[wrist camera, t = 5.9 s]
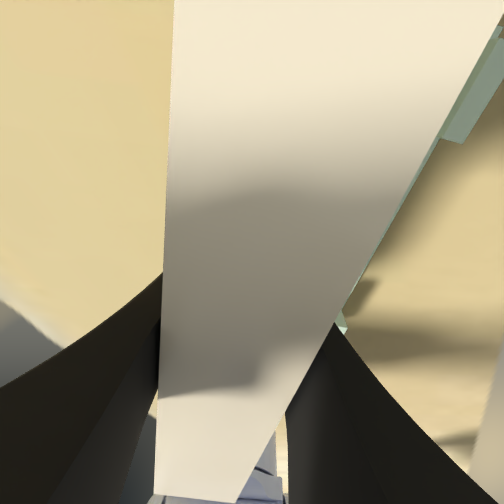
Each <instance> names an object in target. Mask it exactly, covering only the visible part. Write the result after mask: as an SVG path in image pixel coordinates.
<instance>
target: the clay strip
mask: <svg viewBox="0 0 504 504" xmlns="http://www.w3.org/2000/svg"><path fill="white" fill-rule="evenodd" d="M503 13H504V0H174V23H173V47H172V71H171V95H170V118H169V142H168V166H167V190H166V214H165V238H164V262H163V285H162V309H161V333H160V357H159V381H158V405H157V430H156V452H155V478H154V494H158V495H167V496H175V497H184V498H193V499H201V500H210V501H219V502H227V503H235V502H236V500H237V498H238V497H239V495H240V493H241V491H242V489H243V488H244V486H245V484H246V482H247V480H248V478H249V477H250V475H251V473H252V471H253V469H254V467H255V466H256V464H257V462H258V460H259V458H260V457H261V455H262V453H263V451H264V449H265V447H266V446H267V444H268V442H269V440H270V438H271V436H272V435H273V433H274V431H275V429H276V427H277V426H278V424H279V422H280V420H281V418H282V416H283V415H284V413H285V411H286V409H287V407H288V405H289V404H290V402H291V400H292V398H293V396H294V395H295V393H296V391H297V389H298V387H299V385H300V384H301V382H302V380H303V378H304V376H305V374H306V373H307V371H308V369H309V367H310V365H311V364H312V362H313V360H314V358H315V356H316V354H317V353H318V351H319V349H320V347H321V345H322V343H323V342H324V340H325V338H326V336H327V334H328V333H329V331H330V329H331V327H332V325H333V323H334V322H335V320H336V318H337V316H338V314H339V312H340V311H341V309H342V307H343V305H344V303H345V302H346V300H347V298H348V296H349V294H350V292H351V291H352V289H353V287H354V285H355V283H356V281H357V280H358V278H359V276H360V274H361V272H362V271H363V269H364V267H365V265H366V263H367V261H368V260H369V258H370V256H371V254H372V252H373V250H374V249H375V247H376V245H377V243H378V241H379V240H380V238H381V236H382V234H383V232H384V230H385V229H386V227H387V225H388V223H389V221H390V219H391V218H392V216H393V214H394V212H395V210H396V209H397V207H398V205H399V203H400V201H401V199H402V198H403V196H404V194H405V192H406V190H407V188H408V187H409V185H410V183H411V181H412V179H413V178H414V176H415V174H416V172H417V170H418V168H419V167H420V165H421V163H422V161H423V159H424V157H425V156H426V154H427V152H428V150H429V148H430V147H431V145H432V143H433V141H434V139H435V137H436V136H437V134H438V132H439V130H440V128H441V126H442V125H443V123H444V121H445V119H446V117H447V116H448V114H449V112H450V110H451V108H452V106H453V105H454V103H455V101H456V99H457V97H458V95H459V94H460V92H461V90H462V88H463V86H464V85H465V83H466V81H467V79H468V77H469V75H470V74H471V72H472V70H473V68H474V66H475V64H476V63H477V61H478V59H479V57H480V55H481V54H482V52H483V50H484V48H485V46H486V44H487V43H488V41H489V39H490V37H491V35H492V33H493V32H494V30H495V28H496V26H497V24H498V23H499V21H500V19H501V17H502V15H503Z"/></svg>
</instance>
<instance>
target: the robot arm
mask: <svg viewBox="0 0 504 504" xmlns="http://www.w3.org/2000/svg"><path fill="white" fill-rule="evenodd" d="M162 285H163V272H162V273H161V274H160V275H159V276H158V277H157V278H156V279H155V280H154V281H153V282H152V283H151V284H149V285H148V286H147V287H146V288H145V289H144V290H143V291H142V292H140V293H139V294H138V295H137V296H136V297H134V298H133V299H132V300H131V301H130V302H128V303H127V304H126V305H125V306H123V307H122V308H121V309H120V310H118V311H117V312H116V313H114V314H113V315H112V316H110V317H109V318H108V319H106V320H105V321H104V322H102V323H101V324H100V325H98V326H97V327H96V328H94V329H93V330H92V331H90V332H89V333H87V334H86V335H84V336H83V337H82V338H80V339H79V340H77V341H76V342H74V343H73V344H71V345H70V346H68V347H67V348H65V349H63V350H62V351H61V352H59V353H57V354H56V355H54V356H53V357H51V358H49V359H48V360H46V361H44V362H43V363H42V364H39V365H38V366H36V367H35V368H33V369H31V370H29V371H28V372H26V373H25V374H23V375H21V376H19V377H18V378H16V379H14V380H13V381H11V382H10V383H7V384H6V385H4V386H2V387H1V388H0V504H118V503H119V499H120V497H121V494H122V490H123V487H124V484H125V481H126V477H127V474H128V471H129V467H130V465H131V461H132V459H133V455H134V452H135V449H136V446H137V443H138V440H139V437H140V434H141V431H142V427H143V425H144V422H145V419H146V417H147V414H148V411H149V409H150V406H151V404H152V402H153V399H154V397H155V394H156V392H157V389H158V381H159V357H160V333H161V309H162ZM285 418H286V428H287V442H288V494H286V493H283V490H282V478H281V477H277V465H276V437H275V431H274V433H273V435H272V436H271V438H270V440H269V442H268V444H267V446H266V447H265V449H264V451H263V453H262V455H261V457H260V458H259V460H258V462H257V464H256V466H255V467H254V469H253V471H252V473H251V475H250V477H249V478H248V480H247V482H246V484H245V486H244V488H243V489H242V491H241V493H240V495H239V497H238V498H237V500H236V502H235V503H227V502H219V501H210V500H201V499H193V498H184V497H175V496H167V495H158V494H154V495H153V496H152V497H151V499H150V500H149V502H148V504H498V503H497V502H496V501H495V500H494V499H493V498H492V497H491V496H489V495H488V494H487V493H486V492H485V491H484V490H483V489H482V488H481V487H480V486H479V485H478V484H477V483H475V482H474V481H473V480H472V479H471V478H470V477H469V476H468V475H467V474H466V473H465V472H464V471H463V470H462V469H461V468H460V467H459V466H458V465H457V464H456V463H455V462H454V461H453V460H452V459H451V458H450V457H449V456H448V455H447V454H446V453H445V452H444V451H443V450H442V449H441V448H440V447H439V446H438V445H437V444H436V443H435V442H434V441H433V440H432V439H431V438H430V437H429V436H428V435H427V434H426V433H425V432H424V431H423V430H422V429H421V428H420V427H419V426H418V425H417V424H416V423H415V422H414V420H413V419H412V418H411V417H410V416H409V415H408V414H407V413H406V412H405V410H404V409H403V408H402V407H401V406H400V405H399V404H398V403H397V402H396V400H395V399H394V398H393V397H392V396H391V395H390V394H389V393H388V391H387V390H386V389H385V388H384V387H383V385H382V384H381V383H380V382H379V381H378V379H377V378H376V377H375V376H374V374H373V373H372V372H371V371H370V369H369V368H368V367H367V366H366V364H365V363H364V362H363V361H362V359H361V358H360V357H359V355H358V354H357V353H356V351H355V350H354V349H353V347H352V346H351V344H350V343H349V342H348V340H347V339H346V338H345V336H344V335H343V333H342V332H341V330H340V329H339V328H338V326H337V325H336V323H335V322H334V323H333V325H332V327H331V329H330V331H329V333H328V334H327V336H326V338H325V340H324V342H323V343H322V345H321V347H320V349H319V351H318V353H317V354H316V356H315V358H314V360H313V362H312V364H311V365H310V367H309V369H308V371H307V373H306V374H305V376H304V378H303V380H302V382H301V384H300V385H299V387H298V389H297V391H296V393H295V395H294V396H293V398H292V400H291V402H290V404H289V405H288V407H287V409H286V411H285Z"/></svg>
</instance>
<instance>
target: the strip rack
mask: <svg viewBox="0 0 504 504" xmlns="http://www.w3.org/2000/svg"><path fill="white" fill-rule="evenodd" d="M503 28H504V27H502V26H499V25H497V26H496V28H495V30H494V32H493V33H492V35H491V37H490V39H489V41H488V43H487V44H486V46H485V48H484V50H483V52H482V54H481V55H480V57H479V59H478V61H477V63H476V64H475V66H474V68H473V70H472V72H471V74H470V75H469V77H468V79H467V81H466V83H465V85H464V86H463V88H462V90H461V92H460V94H459V95H458V97H457V99H456V101H455V103H454V105H453V106H452V108H451V110H450V112H449V114H448V116H447V117H446V119H445V121H444V123H443V125H442V126H441V128H440V130H439V132H438V134H437V136H436V137H435V139H434V141H433V143H432V145H431V147H430V148H429V150H428V152H427V154H426V156H425V157H424V159H423V161H422V163H421V165H420V167H419V168H418V170H417V172H416V174H415V176H414V178H413V179H412V181H411V183H410V185H409V187H408V188H407V190H406V192H405V194H404V196H403V198H402V199H401V201H400V203H399V205H398V207H397V209H396V210H395V212H394V214H393V216H392V218H391V219H390V221H389V223H388V225H387V227H386V229H385V230H384V232H383V234H382V236H381V238H380V240H379V241H378V243H377V245H376V247H375V249H374V250H373V252H372V254H371V256H370V258H369V260H368V261H367V263H366V265H365V267H364V269H363V271H362V272H361V274H360V276H359V278H358V280H359V279H360V277H361V275H362V273H363V272H364V270H365V268H366V266H367V265H368V263H369V261H370V259H371V258H372V256H373V254H374V253H375V251H376V249H377V247H378V246H379V244H380V242H381V240H382V239H383V237H384V235H385V233H386V232H387V230H388V228H389V226H390V225H391V223H392V221H393V219H394V218H395V216H396V214H397V212H398V211H399V209H400V207H401V205H402V204H403V202H404V200H405V198H406V197H407V195H408V193H409V192H410V190H411V188H412V186H413V185H414V183H415V181H416V179H417V178H418V176H419V174H420V172H421V171H422V169H423V167H424V165H425V164H426V162H427V160H428V158H429V157H430V155H431V153H432V151H433V150H434V148H435V146H436V144H437V143H438V141H439V139H440V138H441V139H445V140H448V141H452V142H456V143H459V144H463V143H464V141H465V140H466V138H467V136H468V135H469V133H470V132H471V130H472V128H473V127H474V125H475V124H476V122H477V120H478V119H479V117H480V116H481V114H482V112H483V111H484V109H485V108H486V106H487V104H488V103H489V101H490V100H491V98H492V96H493V95H494V93H495V92H496V90H497V88H498V87H499V85H500V84H501V82H502V80H503V79H504V39H503V38H498V36H499V35H500V33H501V31H502V30H503ZM358 280H357V281H356V283H355V285H354V287H355V286H356V284H357V282H358ZM354 287H353V289H354ZM353 289H352V291H353ZM352 291H351V292H350V294H351V293H352ZM350 294H349V296H350ZM349 296H348V298H349ZM348 298H347V300H348ZM347 300H346V301H347ZM345 303H346V302H345ZM345 303H344V305H345ZM344 305H343V307H344ZM343 307H342V308H343ZM335 323H336V325H337V326H338V328H339V329H340V330H341V332H342V333H343V335H344V334H345V332H346V330H347V329H348V327H347V324H346V321H345V319H344V316H343V313H342V309H341V311H340V312H339V314H338V316H337V318H336V320H335Z"/></svg>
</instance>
